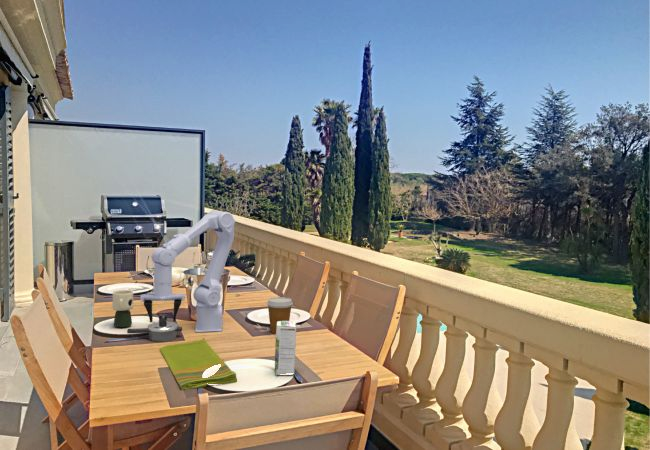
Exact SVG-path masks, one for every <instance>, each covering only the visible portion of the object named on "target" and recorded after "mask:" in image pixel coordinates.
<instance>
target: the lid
mask: <svg viewBox="0 0 650 450" xmlns="http://www.w3.org/2000/svg"><path fill="white" fill-rule="evenodd" d="M167 318H168V315H167V314H159V315H158V322H151V323H150V324H148V325H147V328H148V330H149V331H153V332H167V331H172V330H175V329H177V328H178V327H179V324H178V323H176V322H173V321H167V320H168V319H167Z"/></svg>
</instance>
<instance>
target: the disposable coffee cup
mask: <svg viewBox="0 0 650 450" xmlns="http://www.w3.org/2000/svg"><path fill="white" fill-rule="evenodd" d="M266 305H267V307H268V319H269V327H270V328H269V329H270V333H272V334H275V335H276V329H277V321H290V318H291V310H292V306H293V301H292V298H290V297H284V296H275V297H274V296H273V297H270V298H268V300H267V302H266Z"/></svg>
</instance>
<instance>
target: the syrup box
mask: <svg viewBox="0 0 650 450" xmlns="http://www.w3.org/2000/svg"><path fill="white" fill-rule="evenodd" d="M296 343H297V322H296V321H290V320H289V321H277V329H276V334H275V343H274V345H275V348H274V376H277V375H280V374H286V373H294V374H295V370H296V369H295V368H296V367H295V366H296V346H297V345H296ZM277 377H278V376H277Z"/></svg>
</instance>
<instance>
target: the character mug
mask: <svg viewBox="0 0 650 450" xmlns="http://www.w3.org/2000/svg"><path fill="white" fill-rule="evenodd" d="M132 309H134V291H133V290H128V289H122V290H115V291H113V292H112V310H114V311H115V314H114V319H113V326H114V327H121V328H122V329H123V328H126V327H127V328H128V327H131V326H132V325H133V322H132V314H131V311H130V310H132Z"/></svg>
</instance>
